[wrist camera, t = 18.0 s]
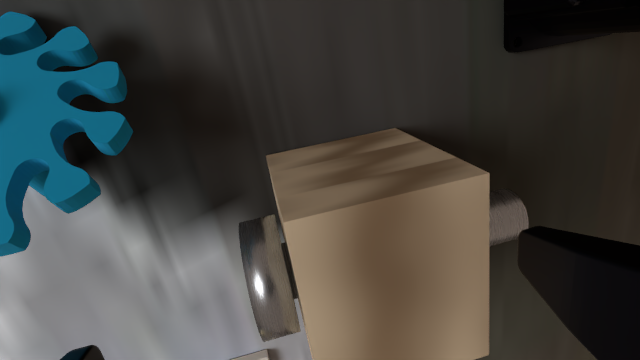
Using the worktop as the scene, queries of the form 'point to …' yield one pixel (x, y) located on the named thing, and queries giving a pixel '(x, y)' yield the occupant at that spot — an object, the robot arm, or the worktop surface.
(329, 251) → the bearing block
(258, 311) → the shaft
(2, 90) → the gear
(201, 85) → the worktop surface
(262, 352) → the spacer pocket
